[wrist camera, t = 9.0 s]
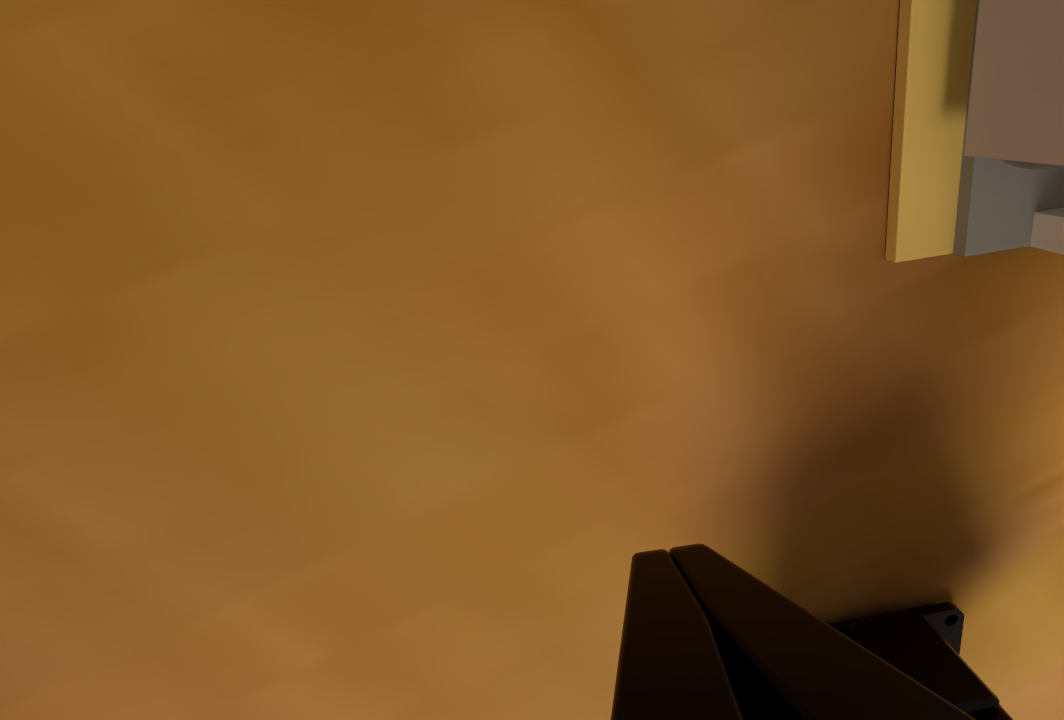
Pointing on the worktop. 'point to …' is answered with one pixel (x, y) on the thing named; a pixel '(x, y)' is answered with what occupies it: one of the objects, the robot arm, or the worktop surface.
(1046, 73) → the trolley
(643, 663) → the robot arm
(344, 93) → the worktop surface
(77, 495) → the worktop surface
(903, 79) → the dock
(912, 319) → the worktop surface
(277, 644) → the worktop surface
